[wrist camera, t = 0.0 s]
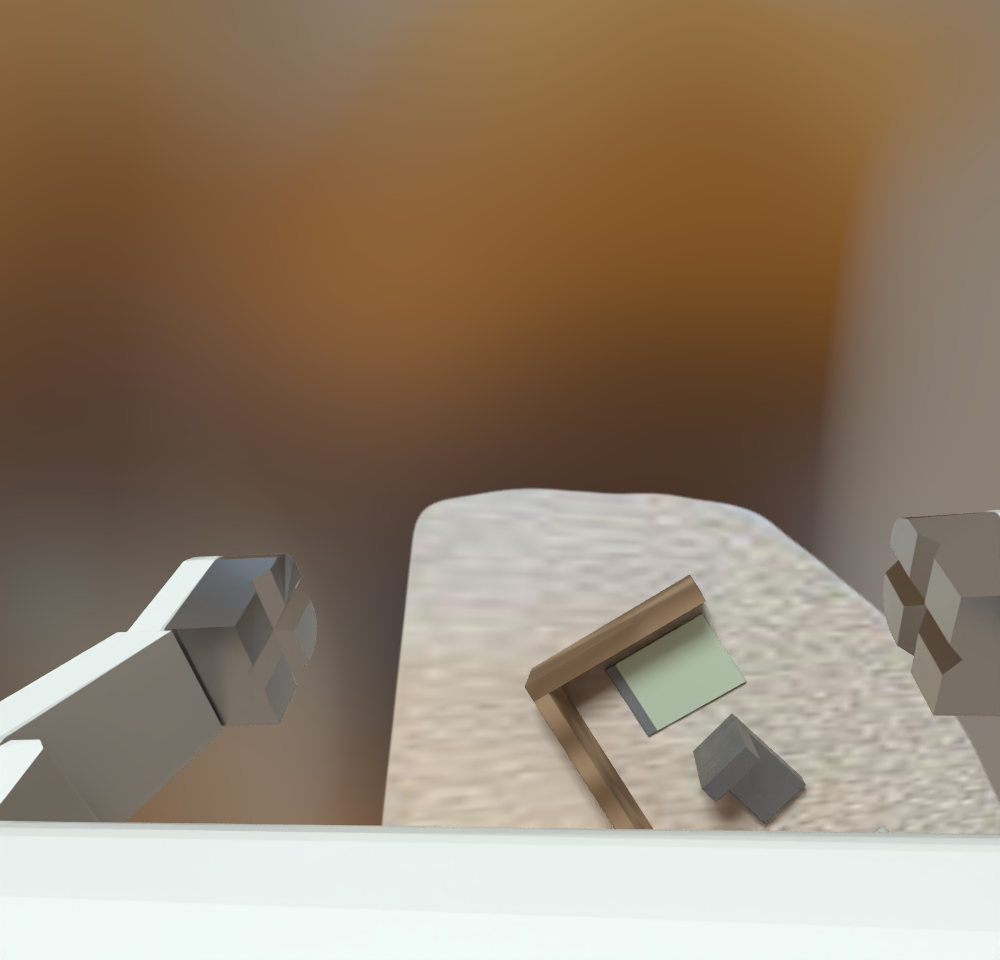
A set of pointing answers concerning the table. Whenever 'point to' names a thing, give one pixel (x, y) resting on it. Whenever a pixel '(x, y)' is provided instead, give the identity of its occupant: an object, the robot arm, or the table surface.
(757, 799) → the bracket
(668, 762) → the table surface
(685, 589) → the wooden corner frame
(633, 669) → the mat
